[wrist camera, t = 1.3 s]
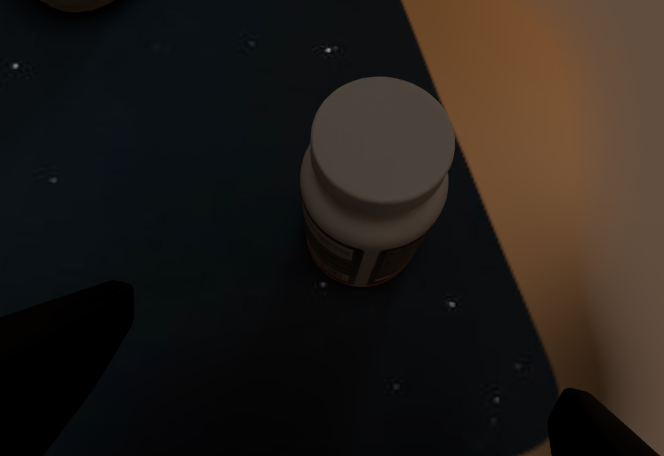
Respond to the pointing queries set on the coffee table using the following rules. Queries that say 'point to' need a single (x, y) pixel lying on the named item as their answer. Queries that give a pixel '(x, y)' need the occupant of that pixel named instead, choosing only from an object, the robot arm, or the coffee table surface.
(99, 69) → the coffee table surface
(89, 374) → the robot arm
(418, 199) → the pill bottle
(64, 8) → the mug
